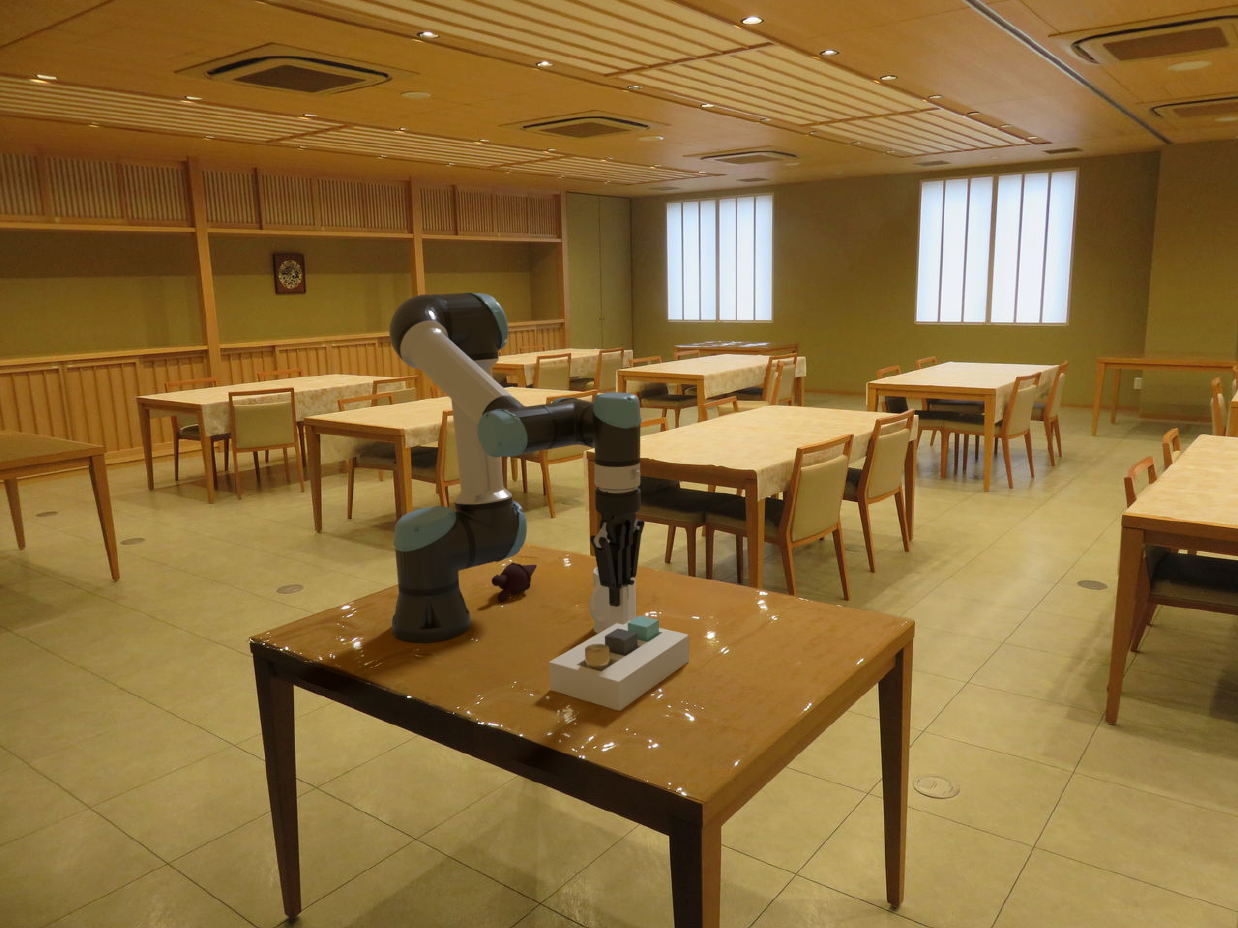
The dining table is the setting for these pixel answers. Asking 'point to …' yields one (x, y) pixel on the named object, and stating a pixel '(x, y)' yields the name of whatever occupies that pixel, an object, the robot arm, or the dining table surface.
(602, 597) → the mug
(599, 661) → the gold metal cylinder
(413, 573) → the robot arm
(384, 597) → the dining table surface
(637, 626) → the teal cube
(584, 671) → the white slotted tray
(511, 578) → the dark purple knobbly piece
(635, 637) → the dark grey cube
